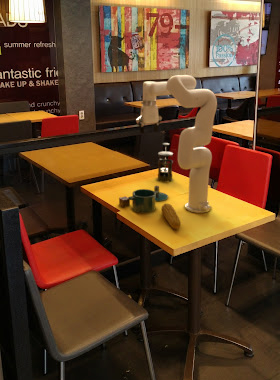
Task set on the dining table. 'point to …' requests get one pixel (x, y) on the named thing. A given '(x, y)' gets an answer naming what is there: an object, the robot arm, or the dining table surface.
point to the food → (171, 216)
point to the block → (124, 201)
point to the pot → (143, 200)
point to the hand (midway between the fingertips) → (148, 132)
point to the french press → (165, 173)
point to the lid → (160, 195)
